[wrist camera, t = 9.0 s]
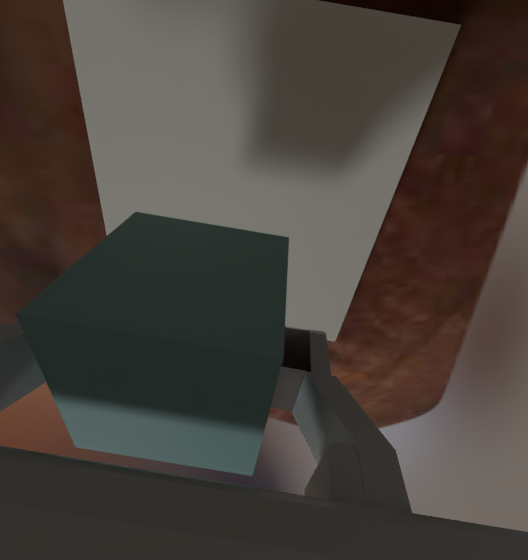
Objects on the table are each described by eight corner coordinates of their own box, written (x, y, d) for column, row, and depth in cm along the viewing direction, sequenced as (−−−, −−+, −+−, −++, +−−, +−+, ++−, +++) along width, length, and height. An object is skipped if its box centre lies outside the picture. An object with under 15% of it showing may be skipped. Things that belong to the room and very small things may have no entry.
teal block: (135, 211, 10) (15, 313, 6) (289, 237, 10) (283, 358, 6) (148, 324, 12) (75, 446, 8) (266, 343, 12) (252, 475, 8)
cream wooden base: (96, -25, 14) (54, -45, 12) (432, 32, 14) (461, 25, 12) (137, 282, 24) (120, 306, 22) (331, 314, 25) (335, 341, 22)
